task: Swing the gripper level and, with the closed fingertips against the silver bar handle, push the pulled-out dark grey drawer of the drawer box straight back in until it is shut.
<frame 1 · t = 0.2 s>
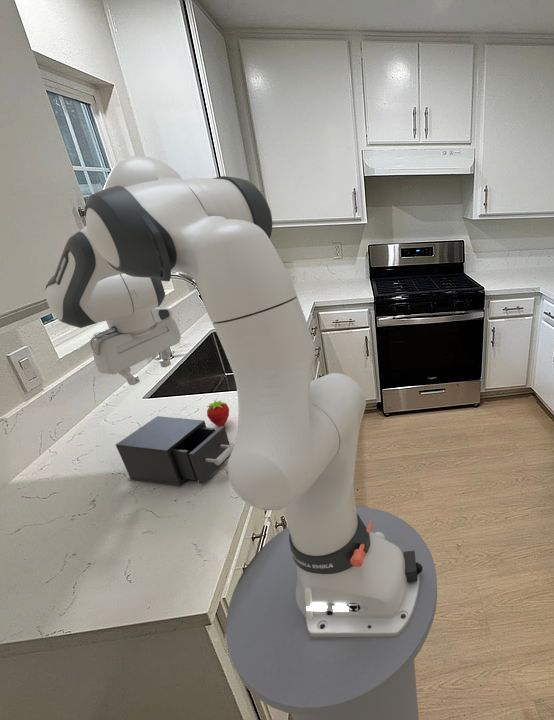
hand: (151, 374, 94), 25 cm above the counter, tool pointing down, fingers open, 8 cm apart
strawberry: (222, 427, 117), on the counter
drawer box: (174, 465, 101), on the counter
dark grey drawer: (198, 452, 97), point 5 cm above the counter, slide at 5.0 cm
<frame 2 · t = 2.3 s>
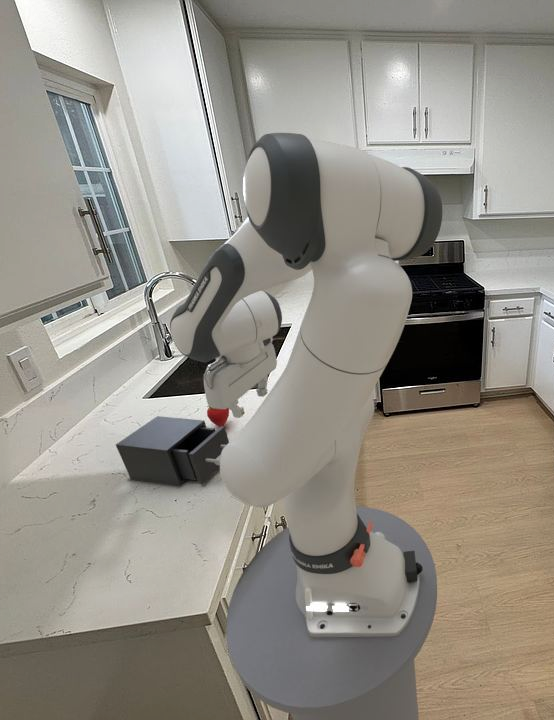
hand: (251, 405, 86), 21 cm above the counter, tool pointing down, fingers open, 8 cm apart
nothing on the counter moved.
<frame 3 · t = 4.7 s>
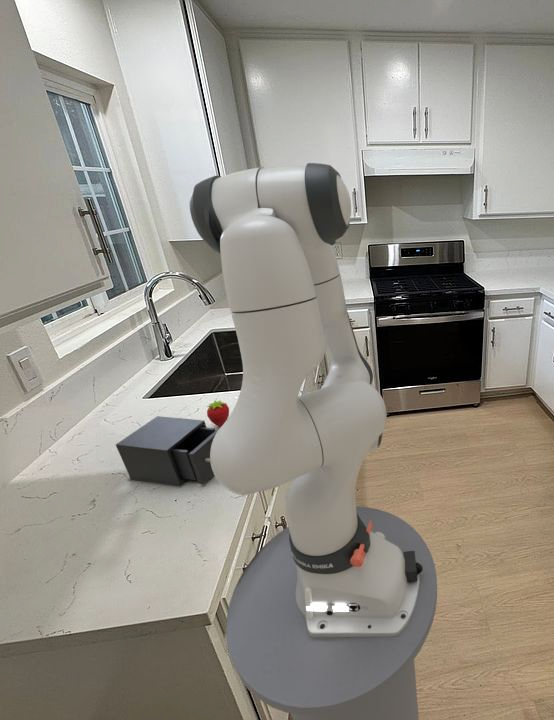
hand: (250, 433, 87), 15 cm above the counter, tool horizontal, fingers closed
nothing on the counter moved.
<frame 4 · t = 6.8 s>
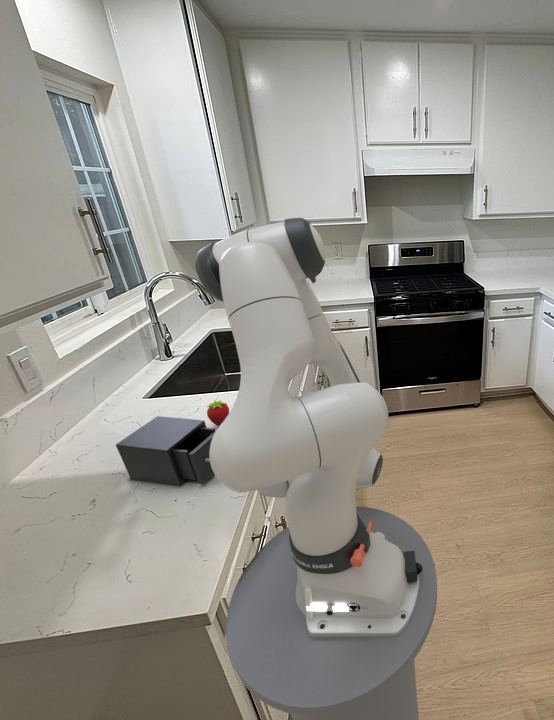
hand: (260, 456, 93), 6 cm above the counter, tool horizontal, fingers closed
nothing on the counter moved.
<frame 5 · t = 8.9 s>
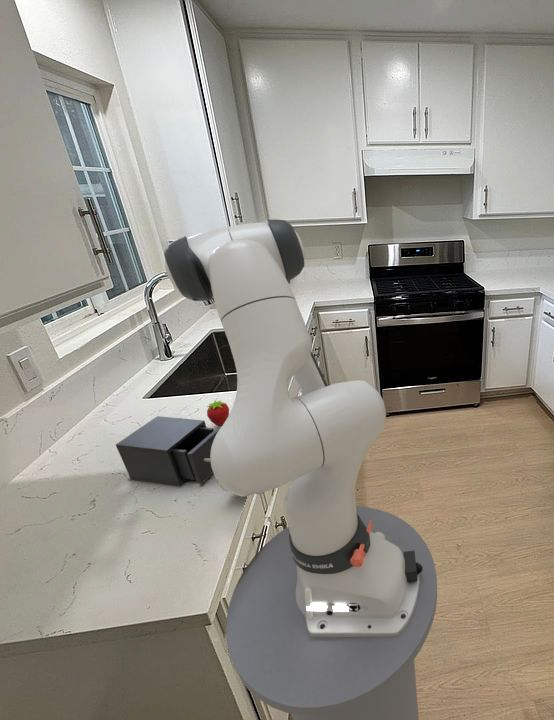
hand: (227, 453, 95), 6 cm above the counter, tool horizontal, fingers closed, pressing on dark grey drawer
dark grey drawer: (196, 452, 97), point 5 cm above the counter, slide at 4.6 cm, touching gripper
everything else where it was.
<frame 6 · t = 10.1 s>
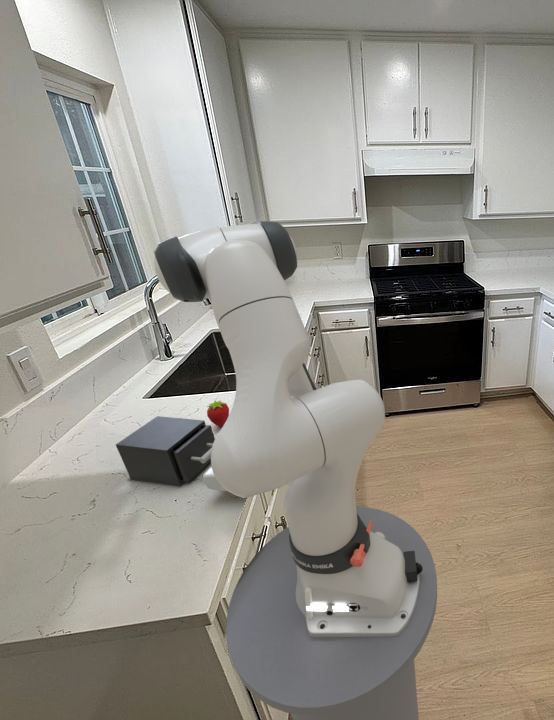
hand: (214, 452, 96), 6 cm above the counter, tool horizontal, fingers closed, pressing on dark grey drawer
dark grey drawer: (184, 451, 98), point 5 cm above the counter, slide at 0.9 cm, touching gripper
everything else where it was.
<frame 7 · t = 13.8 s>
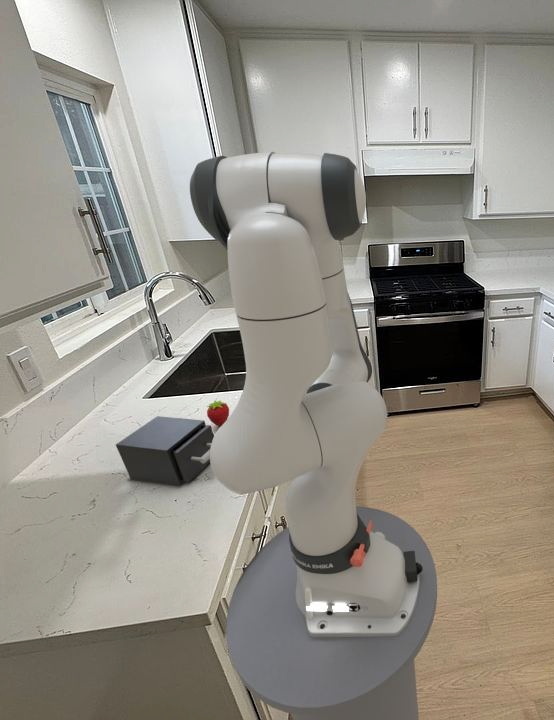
hand: (251, 420, 88), 17 cm above the counter, tool horizontal, fingers closed
dark grey drawer: (184, 451, 98), point 5 cm above the counter, slide at 0.9 cm
everything else where it was.
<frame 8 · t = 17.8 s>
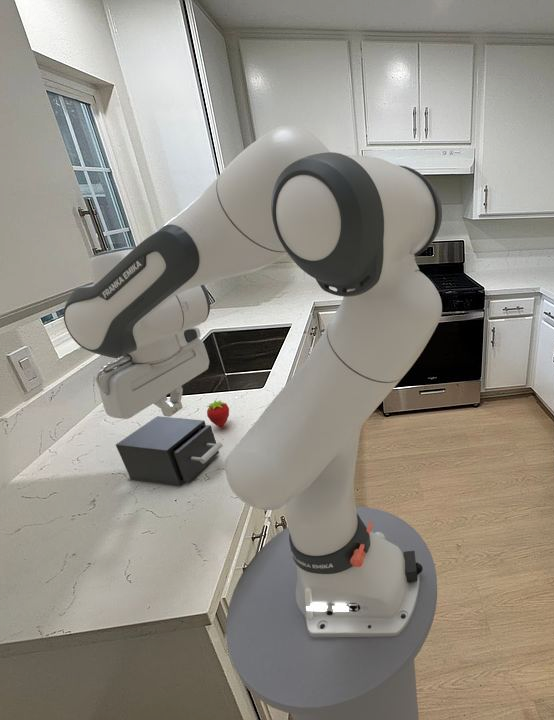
hand: (173, 412, 73), 27 cm above the counter, tool pointing down, fingers closed
nothing on the counter moved.
at the end: dark grey drawer slide at 0.9 cm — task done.
